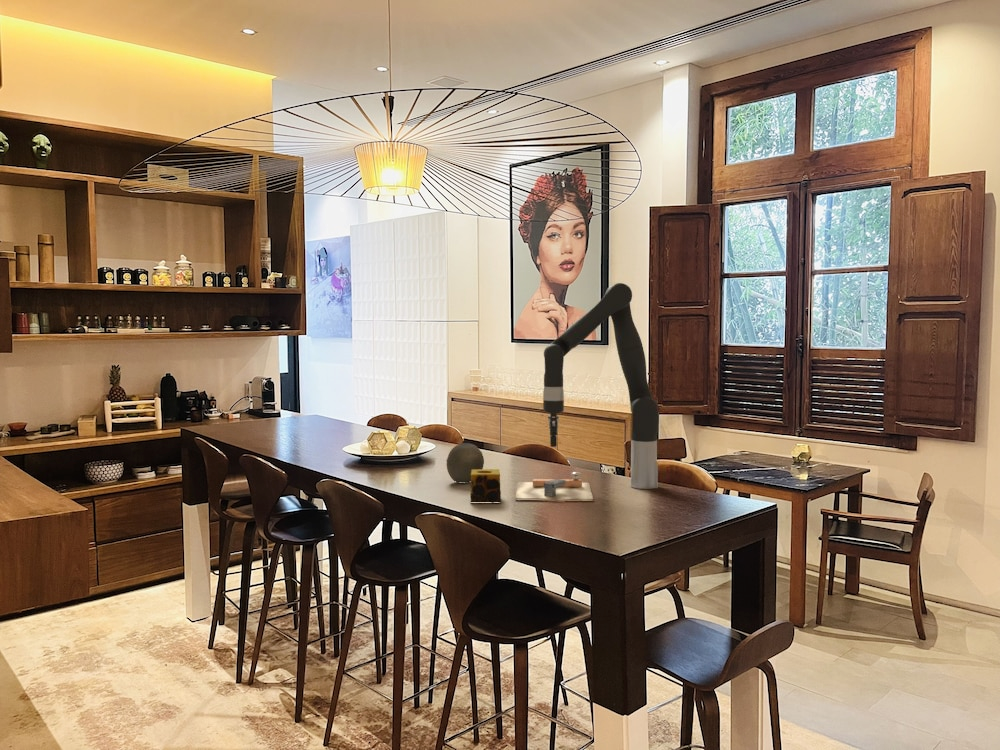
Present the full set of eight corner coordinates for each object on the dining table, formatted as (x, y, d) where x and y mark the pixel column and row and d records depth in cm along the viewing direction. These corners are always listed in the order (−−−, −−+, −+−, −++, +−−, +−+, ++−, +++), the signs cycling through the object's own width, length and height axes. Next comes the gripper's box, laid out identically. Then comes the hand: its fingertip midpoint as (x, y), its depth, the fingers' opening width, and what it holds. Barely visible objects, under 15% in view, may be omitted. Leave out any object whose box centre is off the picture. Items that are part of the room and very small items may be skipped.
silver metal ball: (580, 479, 277) (580, 471, 277) (580, 480, 273) (580, 473, 273) (570, 479, 277) (570, 471, 277) (571, 480, 274) (571, 473, 273)
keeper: (555, 491, 267) (555, 478, 267) (565, 492, 265) (565, 480, 264) (543, 496, 260) (543, 482, 260) (553, 497, 258) (553, 484, 257)
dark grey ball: (444, 486, 281) (444, 446, 280) (448, 479, 295) (448, 441, 294) (483, 487, 280) (483, 446, 280) (485, 479, 295) (484, 441, 294)
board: (588, 485, 283) (588, 482, 283) (593, 501, 255) (593, 498, 255) (518, 484, 285) (518, 482, 285) (515, 500, 257) (515, 498, 257)
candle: (500, 504, 252) (500, 474, 252) (470, 504, 252) (470, 474, 252) (500, 497, 262) (500, 468, 262) (471, 497, 262) (471, 469, 262)
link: (581, 484, 277) (581, 479, 277) (582, 486, 273) (582, 481, 273) (532, 484, 278) (532, 478, 278) (532, 486, 274) (532, 481, 274)
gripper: (564, 400, 272) (564, 448, 273) (563, 397, 286) (563, 443, 287) (543, 400, 272) (543, 448, 273) (543, 397, 286) (543, 443, 287)
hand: (553, 445), depth 280 cm, fingers open, 3 cm apart
